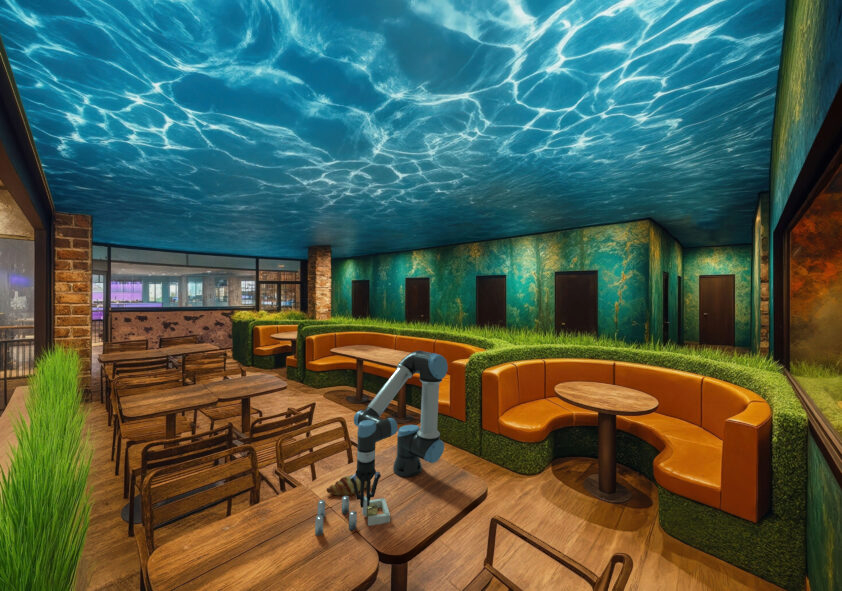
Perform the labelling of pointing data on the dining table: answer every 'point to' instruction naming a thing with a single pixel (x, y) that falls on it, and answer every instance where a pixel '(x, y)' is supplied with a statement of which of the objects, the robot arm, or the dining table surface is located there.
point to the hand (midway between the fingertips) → (364, 513)
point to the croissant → (345, 486)
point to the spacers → (344, 510)
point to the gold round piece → (371, 510)
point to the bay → (381, 517)
